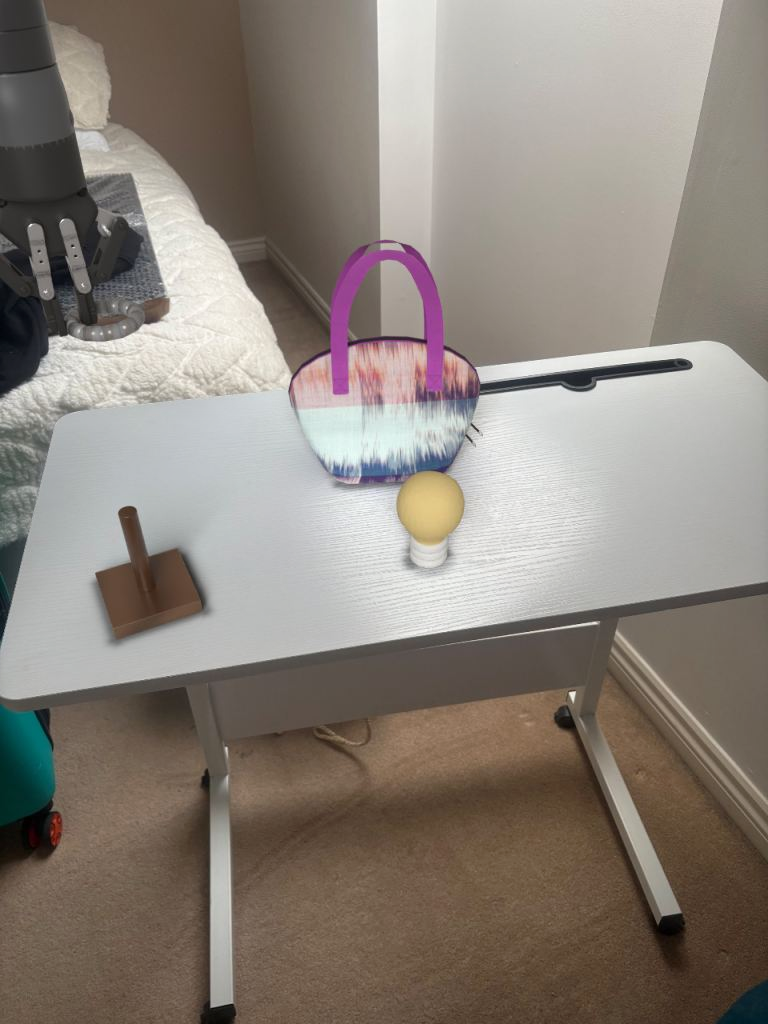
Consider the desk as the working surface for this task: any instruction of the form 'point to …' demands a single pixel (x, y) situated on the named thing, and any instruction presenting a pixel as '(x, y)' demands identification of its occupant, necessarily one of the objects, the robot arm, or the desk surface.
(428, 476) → the light bulb
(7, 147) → the robot arm
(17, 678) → the desk surface
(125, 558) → the desk surface
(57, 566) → the desk surface
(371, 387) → the handbag
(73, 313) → the grey beaded ring
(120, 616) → the stand
